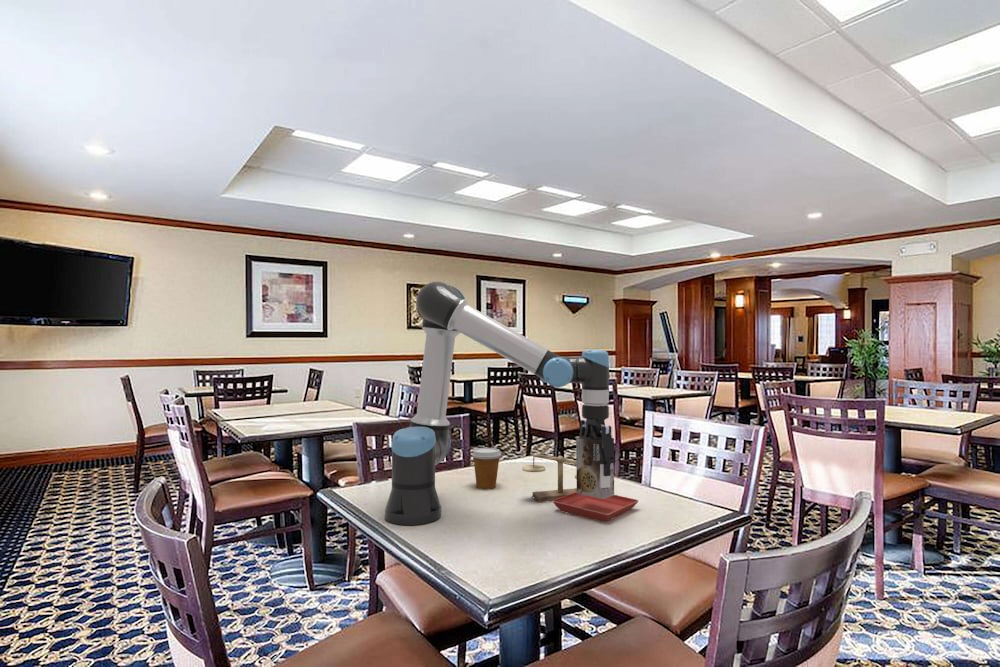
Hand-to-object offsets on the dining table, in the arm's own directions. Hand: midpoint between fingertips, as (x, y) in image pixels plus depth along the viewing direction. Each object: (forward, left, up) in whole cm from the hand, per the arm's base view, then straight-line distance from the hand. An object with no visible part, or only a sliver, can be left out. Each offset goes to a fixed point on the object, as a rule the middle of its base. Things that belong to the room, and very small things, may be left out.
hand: (595, 482), depth 155 cm
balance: (-4, +15, -8) cm, 17 cm away
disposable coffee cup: (-22, +34, -8) cm, 41 cm away
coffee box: (0, 0, -4) cm, 4 cm away
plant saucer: (0, 0, -8) cm, 8 cm away
